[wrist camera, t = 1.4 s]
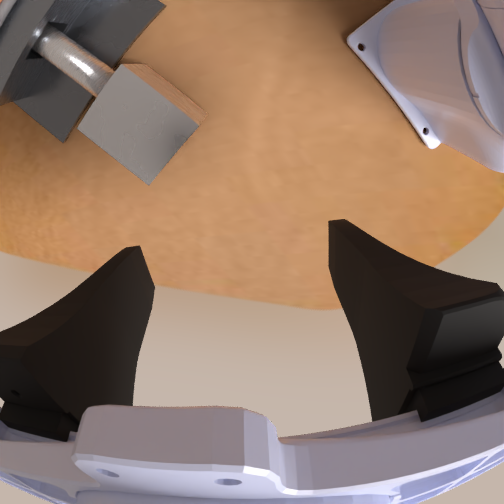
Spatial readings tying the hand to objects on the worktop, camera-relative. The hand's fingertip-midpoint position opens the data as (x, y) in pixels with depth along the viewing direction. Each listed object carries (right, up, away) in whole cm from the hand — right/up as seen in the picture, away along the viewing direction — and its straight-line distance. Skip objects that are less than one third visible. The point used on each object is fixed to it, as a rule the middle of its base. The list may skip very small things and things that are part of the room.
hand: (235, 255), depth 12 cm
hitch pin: (-9, +12, +3) cm, 15 cm away
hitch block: (-12, +14, +2) cm, 19 cm away
